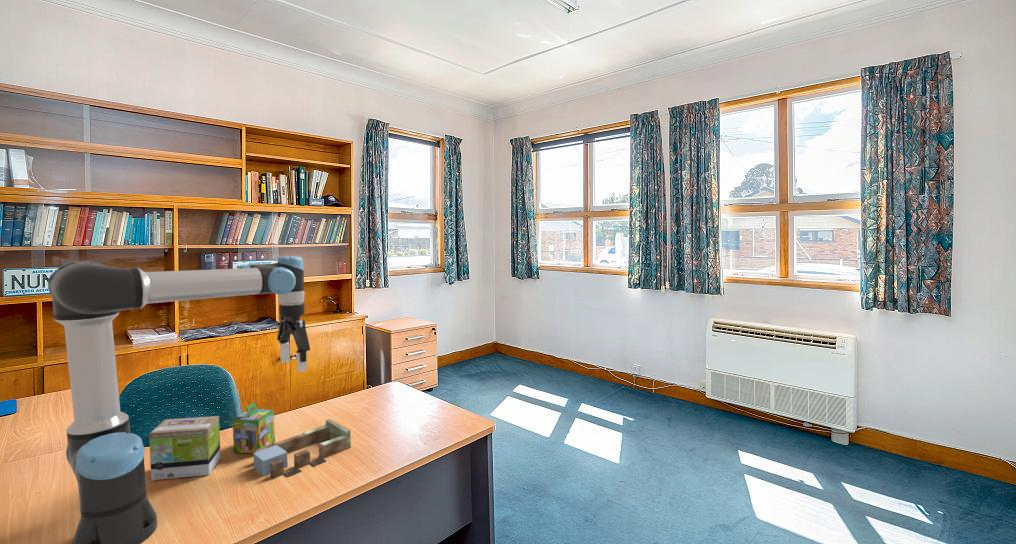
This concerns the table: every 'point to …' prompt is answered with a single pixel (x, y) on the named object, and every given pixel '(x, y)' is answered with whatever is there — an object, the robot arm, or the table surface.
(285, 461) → the block
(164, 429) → the tea box
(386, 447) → the table surface
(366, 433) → the table surface
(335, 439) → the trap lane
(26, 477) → the table surface
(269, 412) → the chalk box
